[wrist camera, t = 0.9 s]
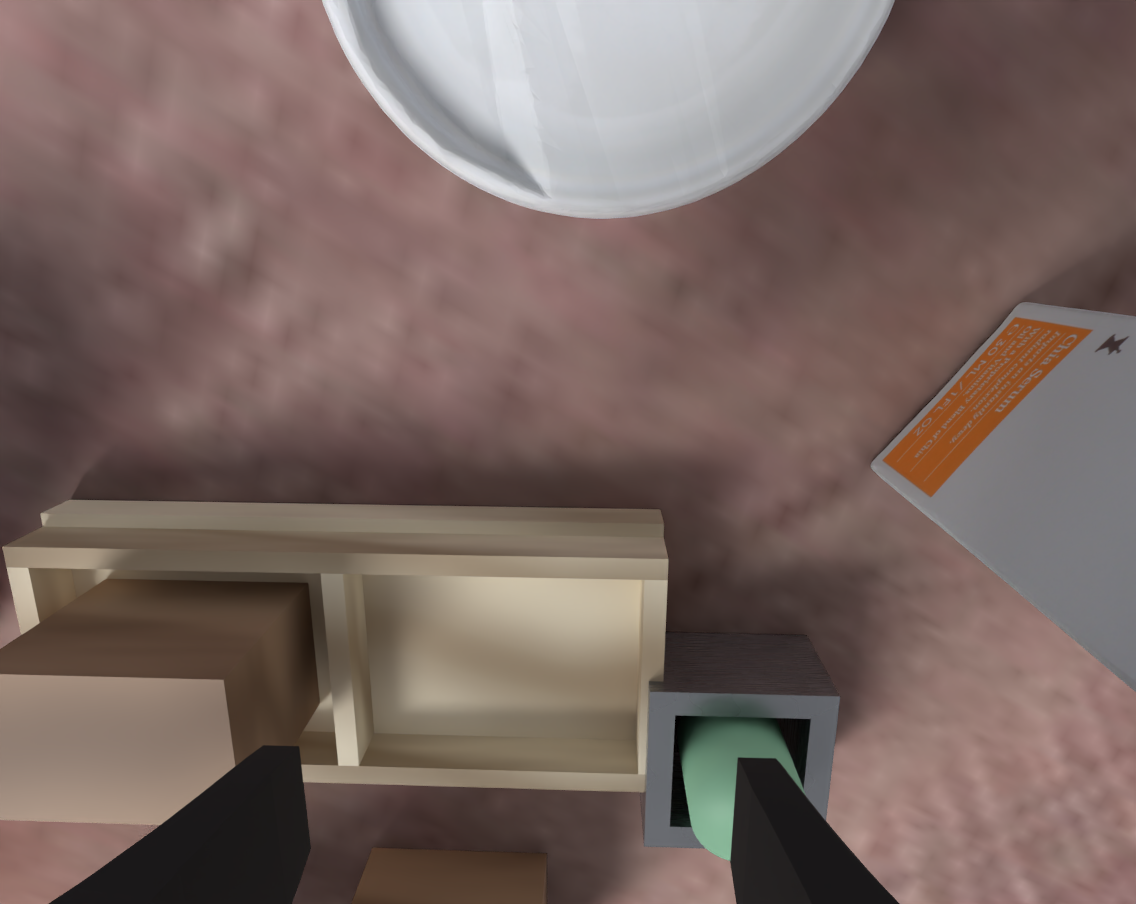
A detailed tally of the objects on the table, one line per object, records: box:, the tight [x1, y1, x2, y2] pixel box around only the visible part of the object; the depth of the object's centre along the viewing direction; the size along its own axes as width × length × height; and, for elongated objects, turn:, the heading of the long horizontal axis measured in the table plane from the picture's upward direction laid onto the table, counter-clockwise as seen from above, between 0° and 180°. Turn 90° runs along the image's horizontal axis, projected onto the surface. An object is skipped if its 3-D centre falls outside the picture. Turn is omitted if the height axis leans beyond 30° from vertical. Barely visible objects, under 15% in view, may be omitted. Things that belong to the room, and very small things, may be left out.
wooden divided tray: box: [2, 500, 669, 792], centre depth 22 cm, size 8×18×3 cm, turn 90°
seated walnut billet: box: [0, 579, 320, 825], centre depth 19 cm, size 4×6×5 cm, turn 90°
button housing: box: [640, 632, 840, 848], centre depth 22 cm, size 5×5×3 cm
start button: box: [677, 716, 805, 861], centre depth 20 cm, size 3×3×3 cm
